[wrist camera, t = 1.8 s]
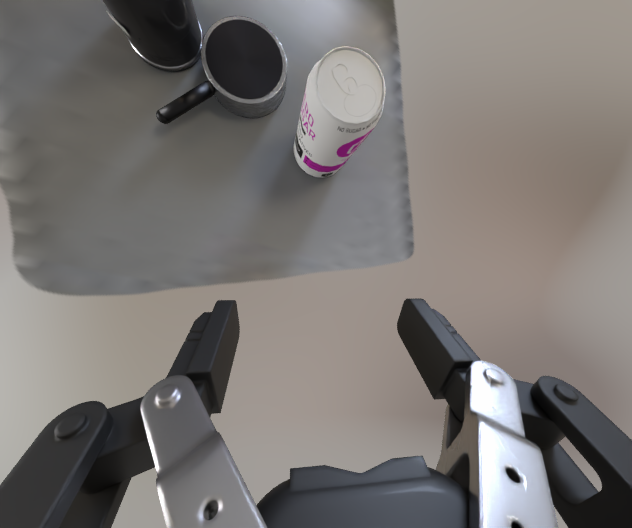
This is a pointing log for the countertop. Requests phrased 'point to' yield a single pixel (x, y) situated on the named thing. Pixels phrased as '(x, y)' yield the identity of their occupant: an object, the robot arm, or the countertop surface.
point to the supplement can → (338, 109)
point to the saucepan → (237, 70)
